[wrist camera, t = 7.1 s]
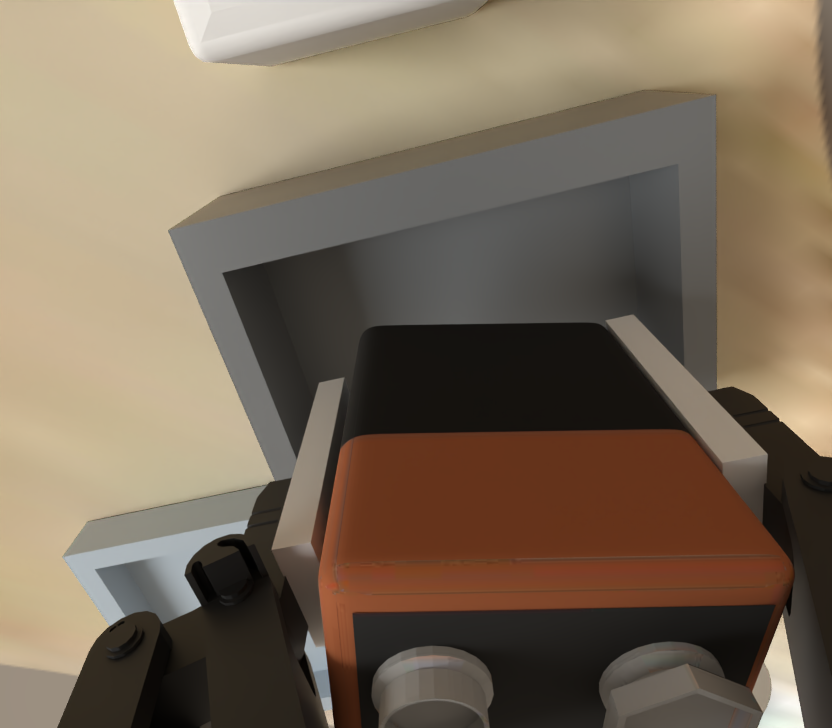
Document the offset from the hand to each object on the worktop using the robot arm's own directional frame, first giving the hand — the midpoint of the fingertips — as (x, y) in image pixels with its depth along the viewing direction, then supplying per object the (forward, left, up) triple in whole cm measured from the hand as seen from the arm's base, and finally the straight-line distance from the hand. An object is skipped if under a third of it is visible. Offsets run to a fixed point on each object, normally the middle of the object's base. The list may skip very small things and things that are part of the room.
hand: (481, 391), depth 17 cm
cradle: (0, 0, -7) cm, 7 cm away
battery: (0, 0, 0) cm, 0 cm away
